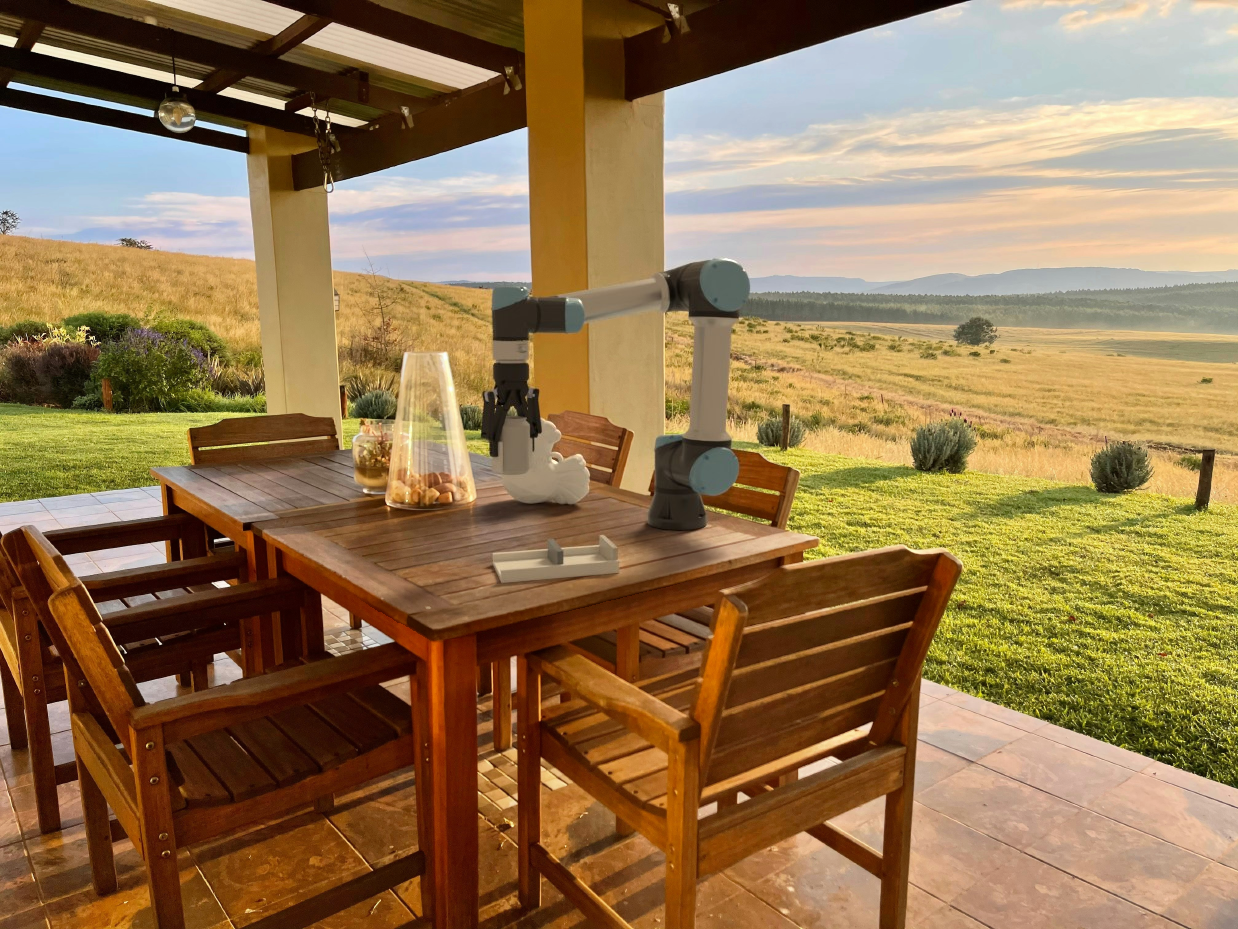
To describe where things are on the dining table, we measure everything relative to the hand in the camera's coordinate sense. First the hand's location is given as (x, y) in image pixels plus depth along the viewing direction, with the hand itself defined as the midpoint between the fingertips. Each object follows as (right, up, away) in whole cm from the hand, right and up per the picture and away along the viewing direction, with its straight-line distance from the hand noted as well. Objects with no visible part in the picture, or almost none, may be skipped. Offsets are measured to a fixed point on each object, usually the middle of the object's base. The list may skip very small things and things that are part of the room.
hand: (512, 469), depth 173 cm
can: (0, -1, 0) cm, 1 cm away
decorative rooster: (+2, -10, +57) cm, 58 cm away
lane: (+9, -20, -5) cm, 23 cm away
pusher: (+10, -19, -5) cm, 22 cm away
